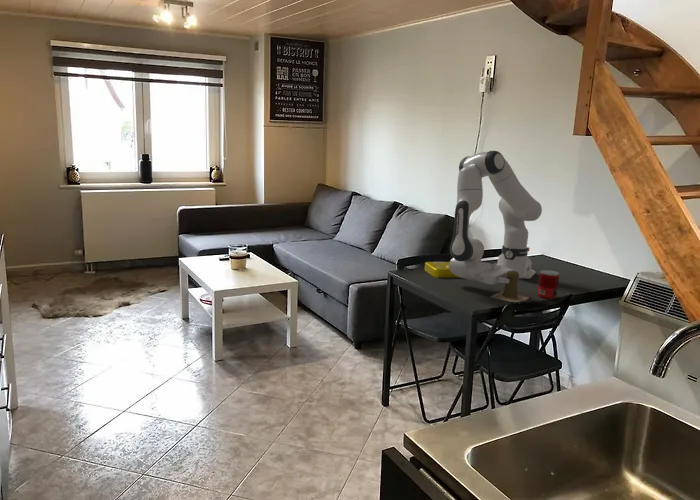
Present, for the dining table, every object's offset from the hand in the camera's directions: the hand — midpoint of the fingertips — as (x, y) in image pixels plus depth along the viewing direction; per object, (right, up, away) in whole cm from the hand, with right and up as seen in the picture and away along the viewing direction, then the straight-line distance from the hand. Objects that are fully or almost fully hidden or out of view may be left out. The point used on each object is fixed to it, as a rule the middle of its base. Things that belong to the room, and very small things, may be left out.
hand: (514, 279), depth 243 cm
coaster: (-1, -8, +2) cm, 8 cm away
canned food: (+16, -8, +8) cm, 19 cm away
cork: (-1, -7, +2) cm, 8 cm away
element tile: (-24, +1, +38) cm, 45 cm away
